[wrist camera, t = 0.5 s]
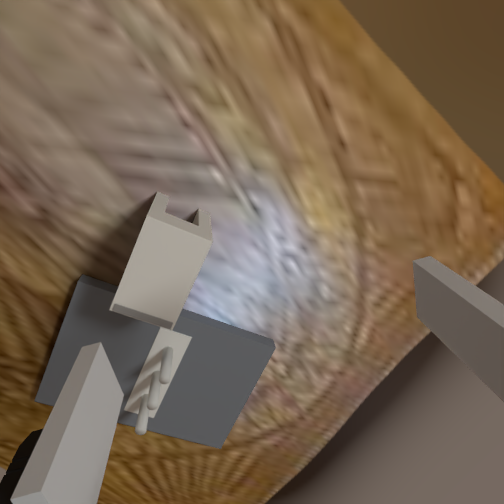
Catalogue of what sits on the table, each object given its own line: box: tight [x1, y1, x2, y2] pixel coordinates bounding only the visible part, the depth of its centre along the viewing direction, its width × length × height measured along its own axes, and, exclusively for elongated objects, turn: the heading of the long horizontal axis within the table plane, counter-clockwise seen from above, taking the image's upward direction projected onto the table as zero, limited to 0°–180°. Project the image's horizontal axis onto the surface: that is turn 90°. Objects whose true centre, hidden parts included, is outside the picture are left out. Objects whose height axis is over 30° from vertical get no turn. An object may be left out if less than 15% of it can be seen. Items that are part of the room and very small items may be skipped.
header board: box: [35, 274, 276, 449], centre depth 39 cm, size 20×14×6 cm
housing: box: [110, 192, 213, 330], centre depth 33 cm, size 5×8×8 cm, turn 155°
